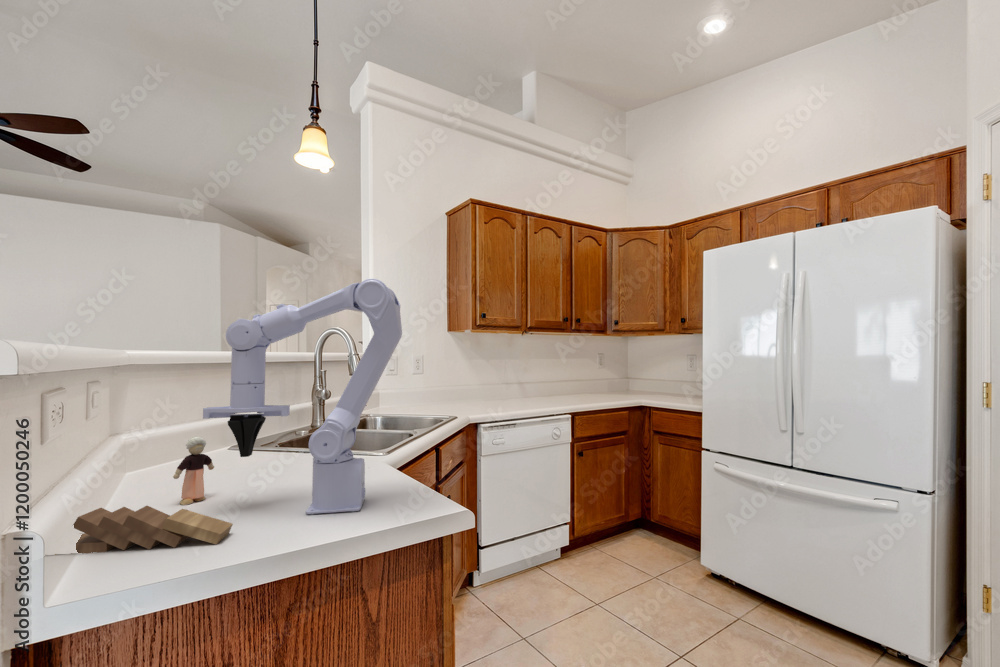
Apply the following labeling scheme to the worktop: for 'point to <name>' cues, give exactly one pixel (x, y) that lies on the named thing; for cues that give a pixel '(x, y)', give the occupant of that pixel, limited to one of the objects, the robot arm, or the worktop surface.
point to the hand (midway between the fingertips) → (246, 455)
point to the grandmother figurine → (193, 471)
